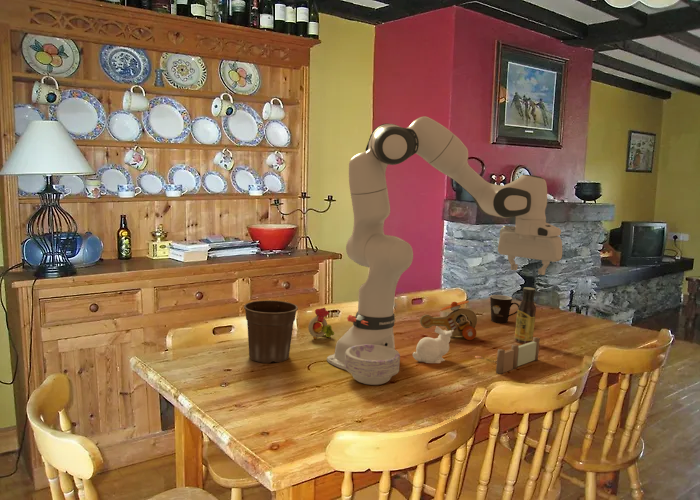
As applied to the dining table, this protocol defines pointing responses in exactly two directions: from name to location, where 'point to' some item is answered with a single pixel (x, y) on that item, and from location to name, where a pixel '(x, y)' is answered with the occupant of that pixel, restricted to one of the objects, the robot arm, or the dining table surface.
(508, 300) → the coffee mug
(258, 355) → the plant pot
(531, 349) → the sage gate panel
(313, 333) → the bird rattle
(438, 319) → the toy helicopter
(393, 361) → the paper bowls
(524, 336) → the sauce bottle
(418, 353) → the rabbit
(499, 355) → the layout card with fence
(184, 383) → the dining table surface
